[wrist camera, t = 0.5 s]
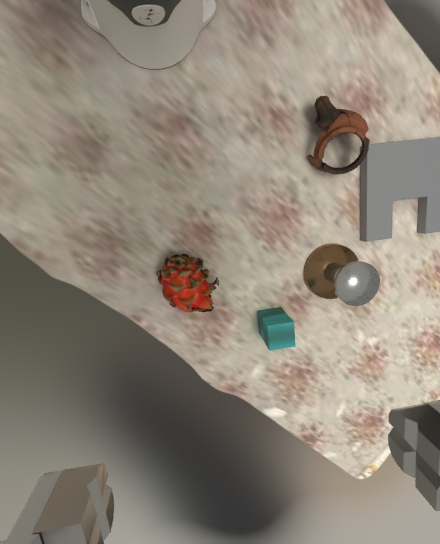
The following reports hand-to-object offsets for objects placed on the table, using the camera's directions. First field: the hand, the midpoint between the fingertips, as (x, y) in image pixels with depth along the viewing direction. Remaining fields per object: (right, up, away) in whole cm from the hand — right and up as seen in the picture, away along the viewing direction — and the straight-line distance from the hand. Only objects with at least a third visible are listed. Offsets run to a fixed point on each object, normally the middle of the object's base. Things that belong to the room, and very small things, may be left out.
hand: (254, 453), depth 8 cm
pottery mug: (+17, +28, +42) cm, 53 cm away
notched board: (+32, +20, +45) cm, 59 cm away
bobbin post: (+19, +5, +47) cm, 51 cm away
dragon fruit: (-6, +4, +44) cm, 45 cm away
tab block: (+8, -4, +48) cm, 49 cm away
